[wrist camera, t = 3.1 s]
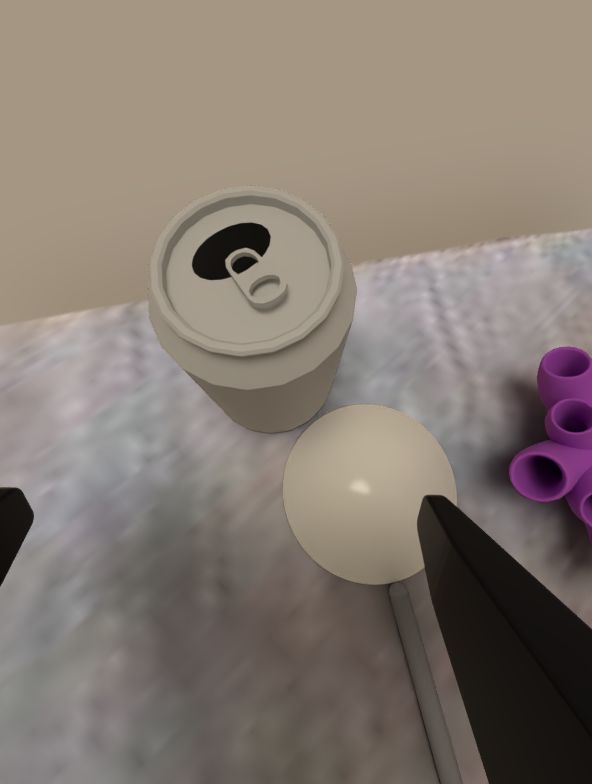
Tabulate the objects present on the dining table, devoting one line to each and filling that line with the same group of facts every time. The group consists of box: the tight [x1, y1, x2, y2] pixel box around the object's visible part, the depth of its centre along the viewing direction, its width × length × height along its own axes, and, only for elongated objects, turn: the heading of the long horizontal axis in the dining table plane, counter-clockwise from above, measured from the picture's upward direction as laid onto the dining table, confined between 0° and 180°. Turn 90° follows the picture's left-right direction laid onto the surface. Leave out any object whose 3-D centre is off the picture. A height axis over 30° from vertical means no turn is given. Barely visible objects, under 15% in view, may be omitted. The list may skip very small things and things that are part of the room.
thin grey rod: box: [389, 582, 463, 784], centre depth 17 cm, size 11×1×1 cm, turn 13°
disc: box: [283, 404, 457, 585], centre depth 20 cm, size 10×10×1 cm
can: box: [148, 185, 357, 433], centre depth 17 cm, size 8×8×12 cm
